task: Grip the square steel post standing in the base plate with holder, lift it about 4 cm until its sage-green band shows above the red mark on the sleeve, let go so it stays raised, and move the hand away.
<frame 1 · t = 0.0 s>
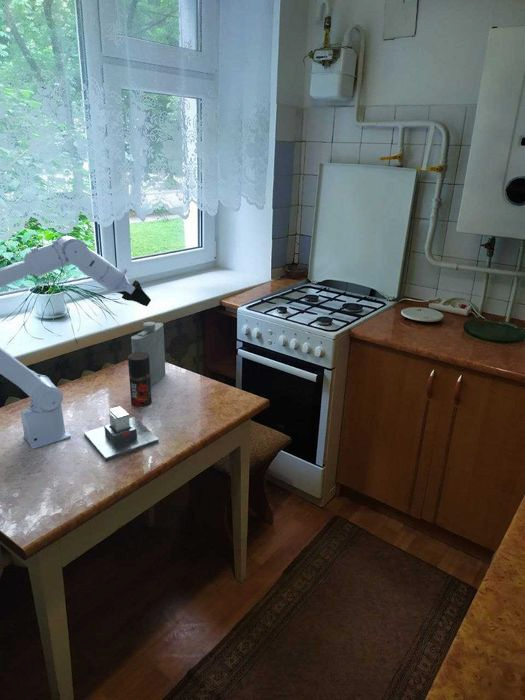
hand: (141, 299, 132), 32 cm above the table, tool tilted 50°, fingers open, 7 cm apart
hip flask: (152, 382, 159), on the table
deodorant: (141, 403, 146), on the table
column: (120, 423, 126), point 4 cm above the table, slide at 0.0 cm, touching base plate with holder
base plate with holder: (121, 439, 128), on the table
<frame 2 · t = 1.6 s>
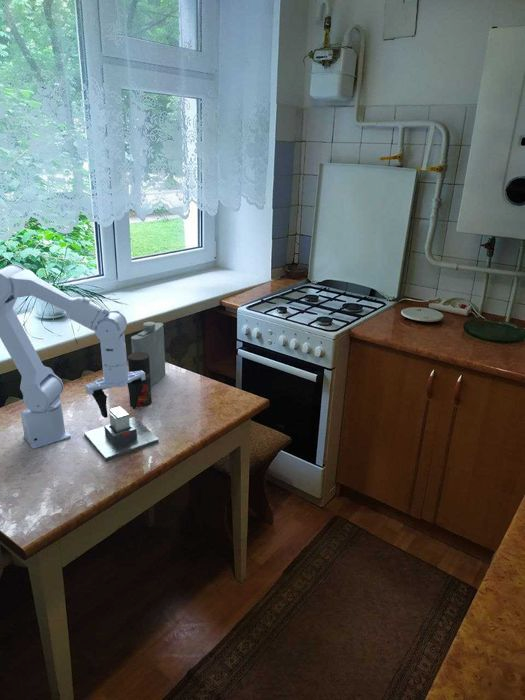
hand: (119, 411, 124), 8 cm above the table, tool pointing down, fingers open, 7 cm apart
nothing on the table moved.
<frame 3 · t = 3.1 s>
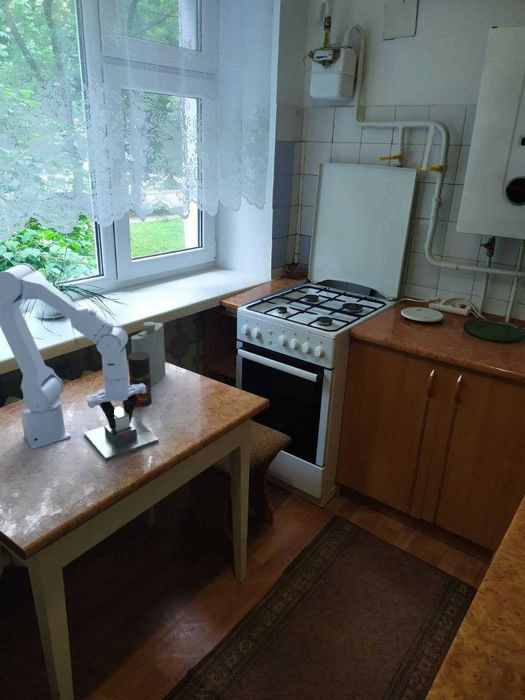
hand: (120, 424, 126), 4 cm above the table, tool pointing down, fingers closed on column, 4 cm apart
column: (120, 423, 126), point 4 cm above the table, slide at 0.0 cm, touching gripper, base plate with holder
everything else where it was.
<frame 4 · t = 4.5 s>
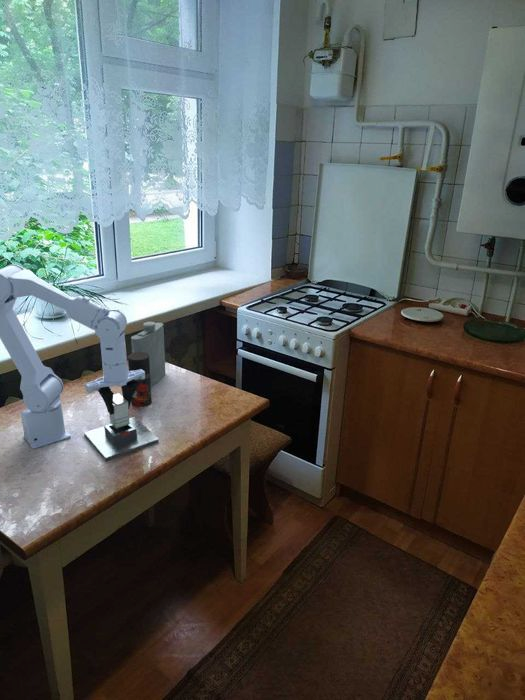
hand: (118, 410, 124), 8 cm above the table, tool pointing down, fingers closed on column, 4 cm apart
column: (118, 411, 124), point 8 cm above the table, slide at 3.7 cm, touching gripper
everything else where it was.
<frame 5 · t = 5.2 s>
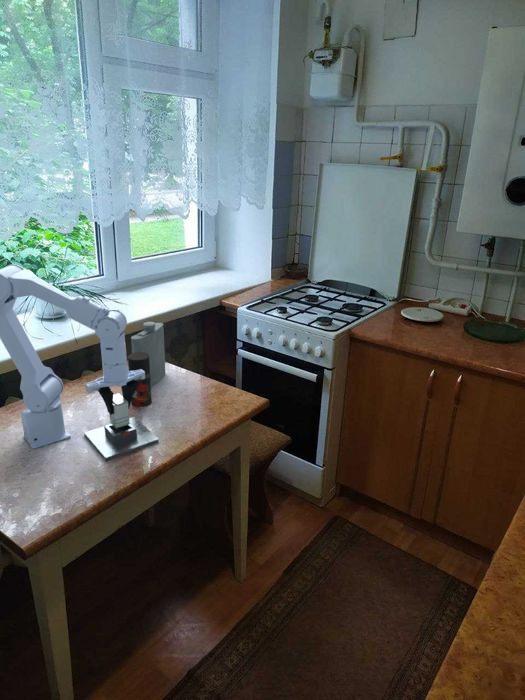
hand: (118, 410, 124), 8 cm above the table, tool pointing down, fingers closed on column, 4 cm apart
column: (118, 411, 124), point 8 cm above the table, slide at 3.7 cm, touching gripper
everything else where it was.
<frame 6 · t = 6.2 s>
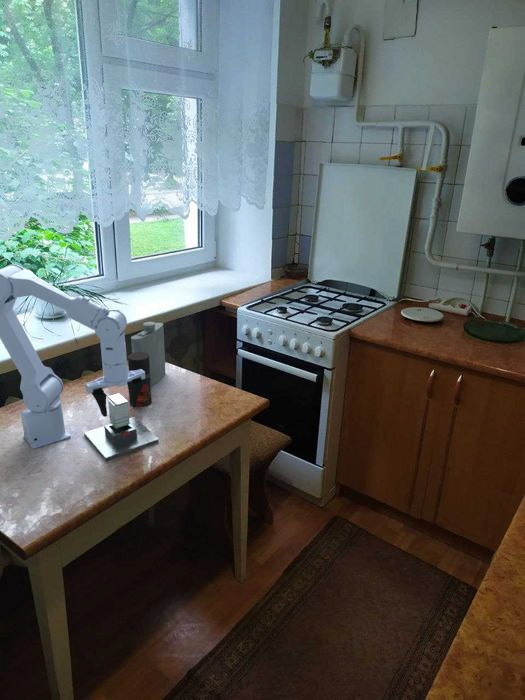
hand: (118, 410, 124), 8 cm above the table, tool pointing down, fingers open, 7 cm apart
column: (118, 411, 124), point 8 cm above the table, slide at 3.7 cm
everything else where it was.
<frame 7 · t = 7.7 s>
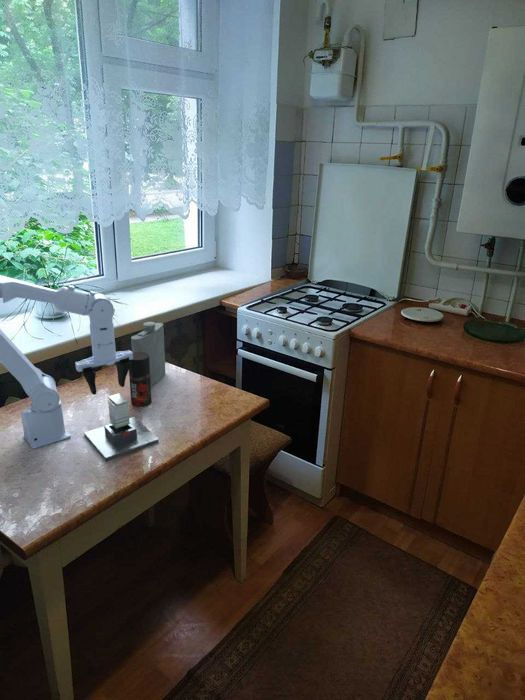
hand: (107, 389, 131), 10 cm above the table, tool pointing down, fingers open, 7 cm apart
nothing on the table moved.
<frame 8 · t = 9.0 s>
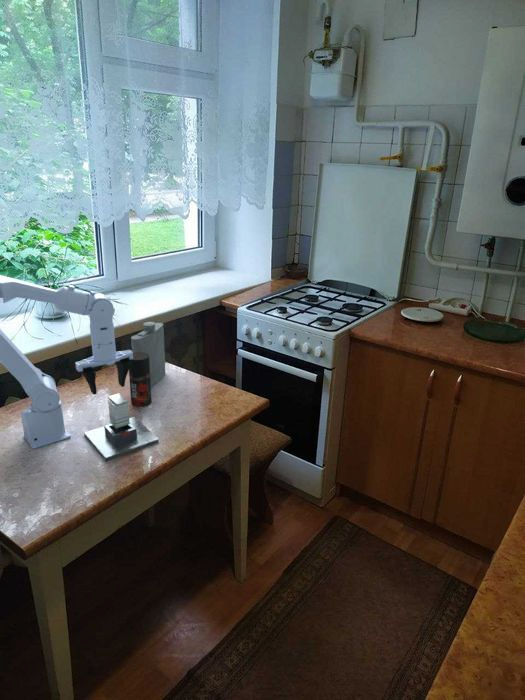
hand: (108, 389, 131), 10 cm above the table, tool pointing down, fingers open, 7 cm apart
nothing on the table moved.
at the end: column slide at 3.7 cm; the gripper is holding nothing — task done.
